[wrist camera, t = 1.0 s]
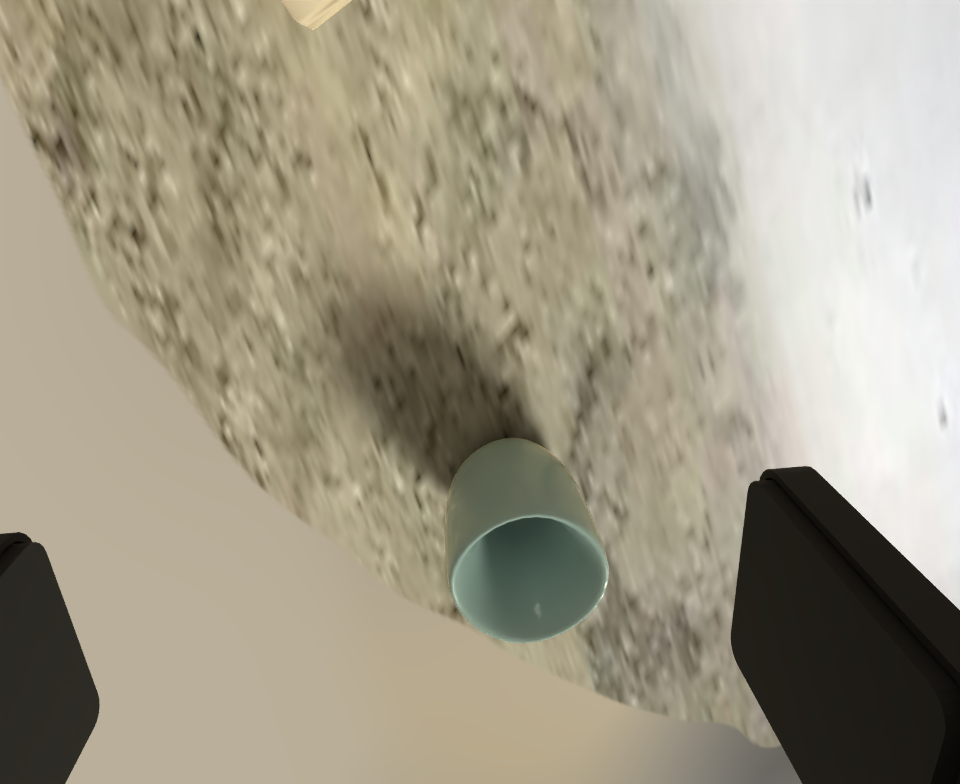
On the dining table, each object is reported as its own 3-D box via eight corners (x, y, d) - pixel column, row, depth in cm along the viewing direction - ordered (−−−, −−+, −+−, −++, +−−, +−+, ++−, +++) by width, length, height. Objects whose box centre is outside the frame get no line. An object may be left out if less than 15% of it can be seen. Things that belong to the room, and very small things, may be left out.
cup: (416, 475, 42) (415, 581, 33) (514, 394, 41) (541, 482, 32) (499, 551, 45) (520, 668, 36) (594, 478, 43) (641, 582, 34)
